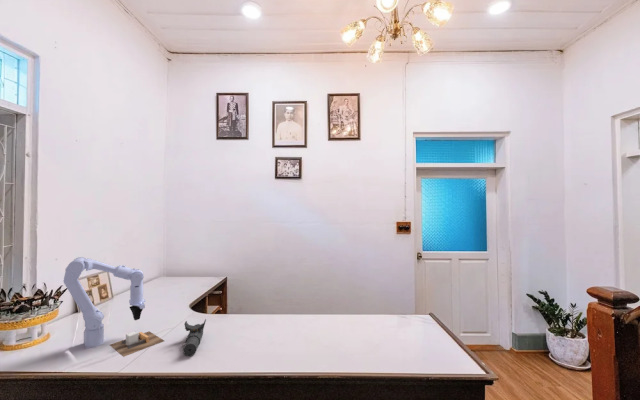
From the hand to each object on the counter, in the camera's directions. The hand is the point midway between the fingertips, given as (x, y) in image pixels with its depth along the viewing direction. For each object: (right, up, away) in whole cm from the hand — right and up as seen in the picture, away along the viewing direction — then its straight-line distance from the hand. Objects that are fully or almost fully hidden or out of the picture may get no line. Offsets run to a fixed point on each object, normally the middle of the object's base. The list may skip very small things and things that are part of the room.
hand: (136, 319), depth 149 cm
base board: (+6, -9, -8) cm, 14 cm away
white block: (+4, -8, -9) cm, 13 cm away
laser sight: (+34, -9, -8) cm, 36 cm away
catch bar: (+7, -8, -5) cm, 12 cm away
